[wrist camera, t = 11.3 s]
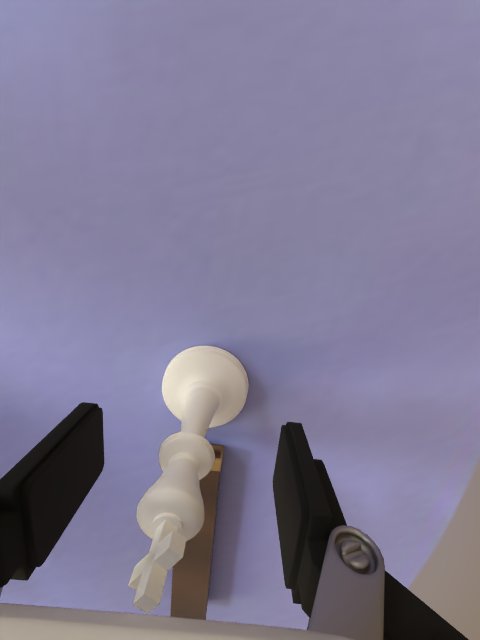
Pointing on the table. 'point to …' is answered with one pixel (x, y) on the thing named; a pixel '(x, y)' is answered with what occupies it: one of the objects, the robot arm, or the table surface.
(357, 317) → the table surface
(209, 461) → the chess piece
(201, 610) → the walnut stick
